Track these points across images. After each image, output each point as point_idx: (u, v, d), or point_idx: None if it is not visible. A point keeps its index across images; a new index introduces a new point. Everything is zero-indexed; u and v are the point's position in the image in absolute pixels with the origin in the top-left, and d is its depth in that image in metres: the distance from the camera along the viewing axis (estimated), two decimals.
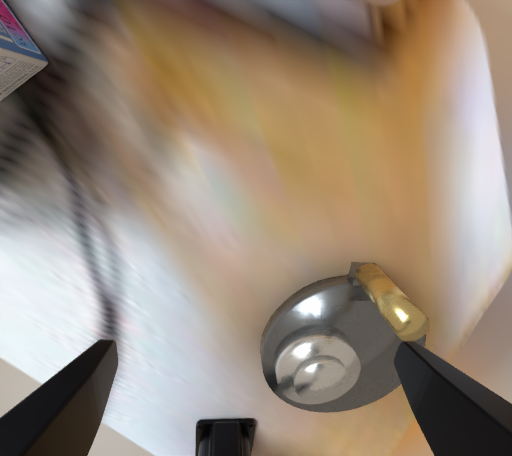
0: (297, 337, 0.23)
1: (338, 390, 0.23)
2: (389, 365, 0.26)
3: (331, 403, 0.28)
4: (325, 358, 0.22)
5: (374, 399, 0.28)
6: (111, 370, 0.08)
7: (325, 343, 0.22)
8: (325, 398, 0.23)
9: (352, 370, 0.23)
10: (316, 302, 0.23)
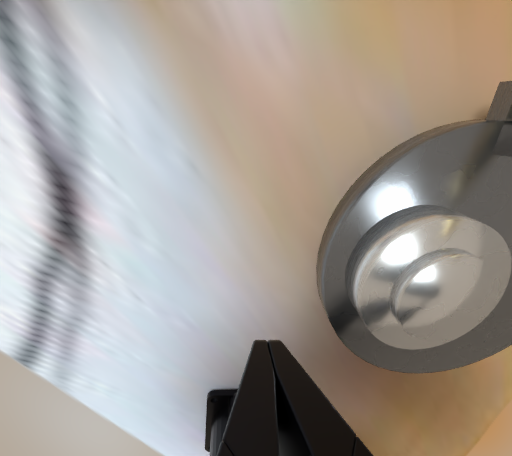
0: (398, 221, 0.13)
1: (473, 317, 0.13)
2: None
3: (424, 357, 0.17)
4: (459, 251, 0.12)
5: (491, 352, 0.18)
6: None
7: (460, 222, 0.12)
8: (447, 333, 0.13)
9: None
10: (434, 155, 0.12)
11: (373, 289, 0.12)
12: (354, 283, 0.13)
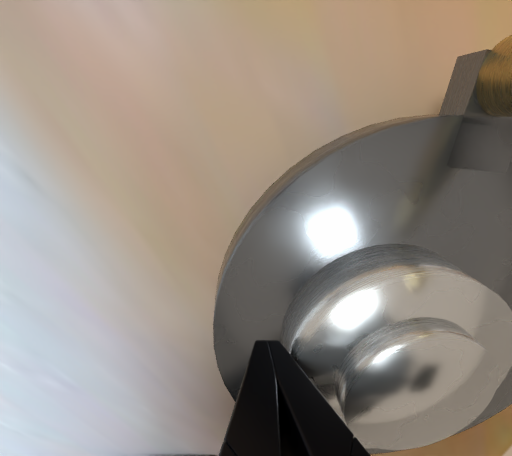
0: (349, 270, 0.08)
1: (460, 418, 0.08)
2: None
3: None
4: (438, 326, 0.07)
5: None
6: None
7: (440, 281, 0.07)
8: (421, 439, 0.09)
9: None
10: (357, 168, 0.08)
11: (308, 374, 0.08)
12: None
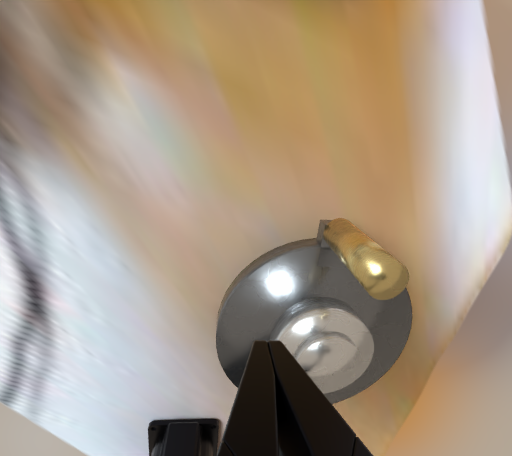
0: (297, 311, 0.19)
1: (348, 375, 0.19)
2: None
3: None
4: (332, 334, 0.18)
5: (354, 392, 0.24)
6: None
7: (331, 316, 0.18)
8: (333, 385, 0.19)
9: (364, 350, 0.20)
10: (277, 268, 0.19)
11: None
12: None
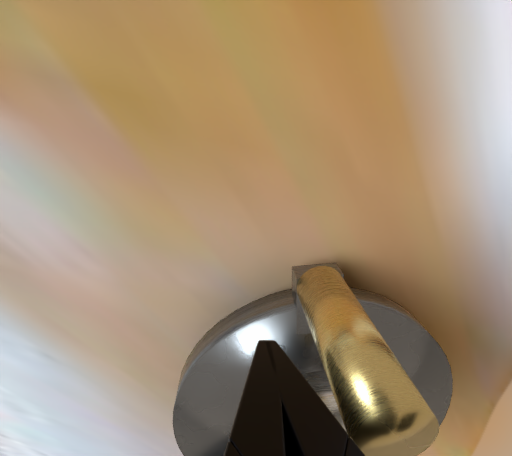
0: None
1: None
2: None
3: None
4: None
5: None
6: None
7: None
8: None
9: None
10: (238, 345, 0.13)
11: None
12: None
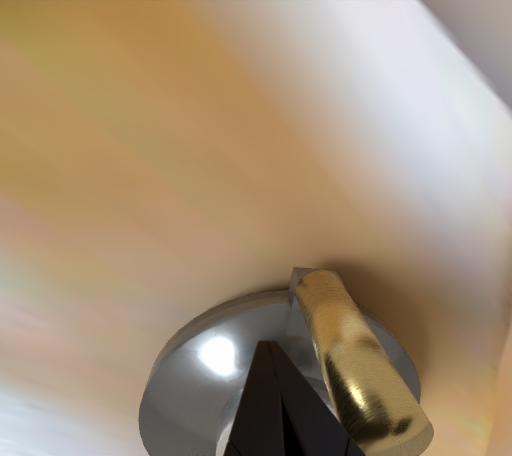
0: None
1: None
2: None
3: None
4: None
5: None
6: None
7: None
8: None
9: None
10: (226, 336, 0.13)
11: None
12: (216, 448, 0.14)
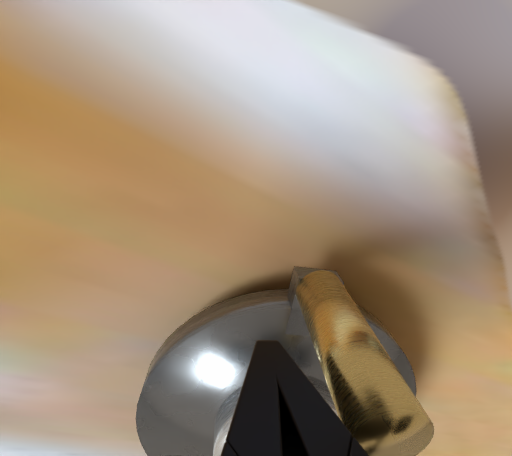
0: None
1: None
2: None
3: None
4: None
5: None
6: None
7: None
8: None
9: None
10: (225, 334, 0.13)
11: None
12: (213, 446, 0.14)
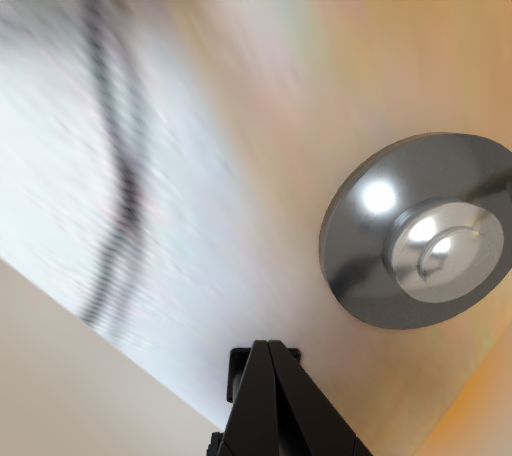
0: (466, 202, 0.18)
1: (456, 287, 0.18)
2: None
3: (353, 291, 0.21)
4: None
5: (383, 324, 0.22)
6: None
7: (498, 225, 0.17)
8: (438, 285, 0.18)
9: None
10: (489, 153, 0.18)
11: (432, 223, 0.17)
12: (416, 215, 0.18)
